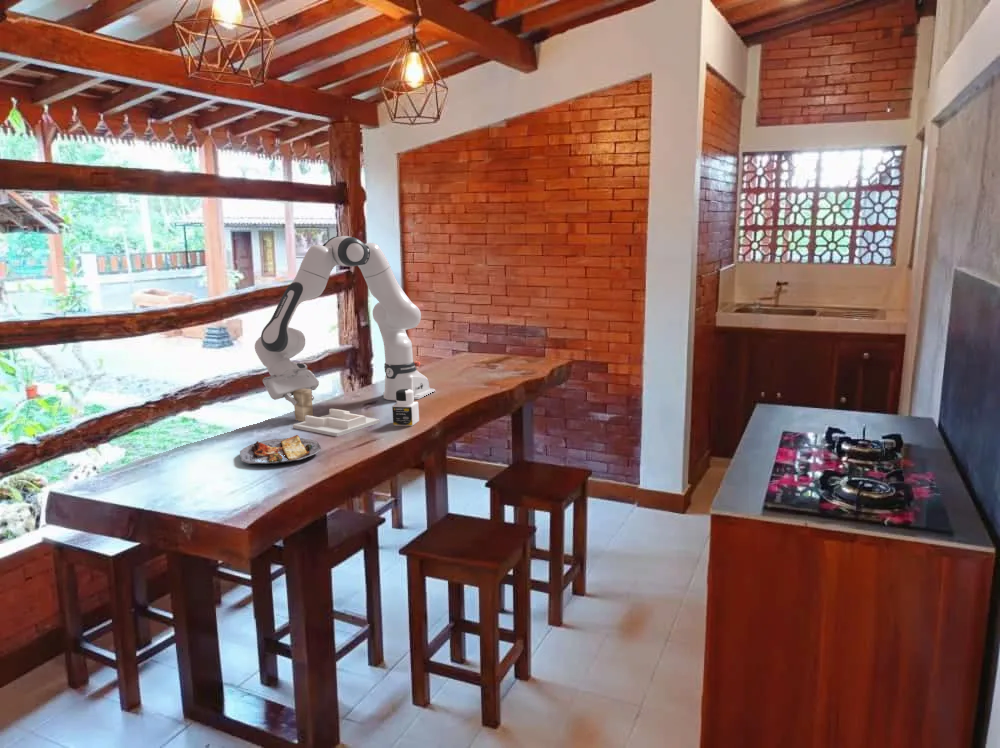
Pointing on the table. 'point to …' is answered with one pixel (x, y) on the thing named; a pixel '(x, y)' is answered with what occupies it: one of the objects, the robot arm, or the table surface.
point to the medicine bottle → (405, 409)
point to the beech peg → (303, 404)
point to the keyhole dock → (336, 423)
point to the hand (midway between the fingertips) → (304, 401)
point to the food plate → (280, 450)
